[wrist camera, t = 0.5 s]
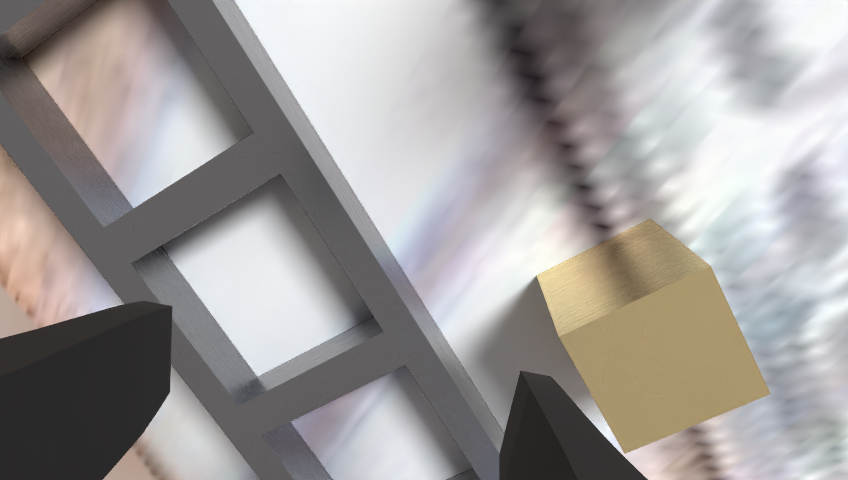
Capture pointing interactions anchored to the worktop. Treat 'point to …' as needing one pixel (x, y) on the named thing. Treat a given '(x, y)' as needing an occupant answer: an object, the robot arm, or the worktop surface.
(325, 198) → the grey compartment tray
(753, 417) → the worktop surface
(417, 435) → the worktop surface
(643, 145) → the worktop surface
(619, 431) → the tan rectangular block
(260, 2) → the worktop surface
